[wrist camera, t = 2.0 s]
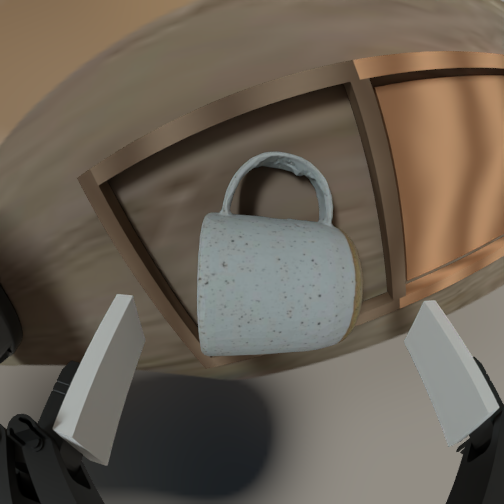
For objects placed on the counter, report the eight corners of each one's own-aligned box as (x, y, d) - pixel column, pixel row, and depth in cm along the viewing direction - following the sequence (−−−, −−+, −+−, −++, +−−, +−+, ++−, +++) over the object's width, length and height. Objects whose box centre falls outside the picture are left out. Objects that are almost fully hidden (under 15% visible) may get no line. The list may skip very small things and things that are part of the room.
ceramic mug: (318, 297, 20) (345, 378, 14) (210, 296, 20) (197, 381, 13) (343, 156, 15) (410, 192, 9) (207, 147, 15) (176, 176, 8)
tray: (206, 358, 24) (205, 368, 23) (86, 172, 15) (77, 178, 14) (518, 236, 18) (525, 241, 17) (507, 56, 10) (516, 56, 8)
